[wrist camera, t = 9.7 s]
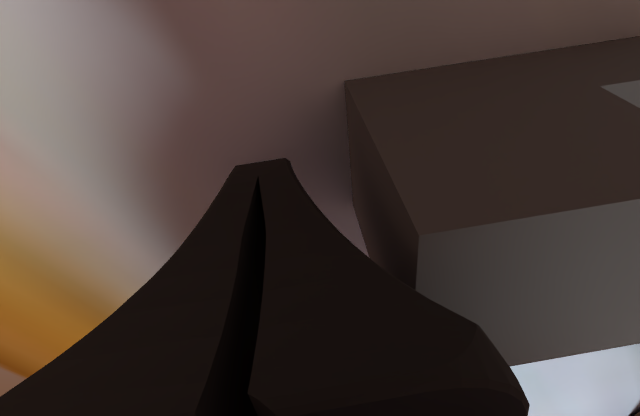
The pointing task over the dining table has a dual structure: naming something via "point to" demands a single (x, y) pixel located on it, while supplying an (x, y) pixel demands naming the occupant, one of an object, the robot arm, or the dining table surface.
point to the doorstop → (509, 192)
